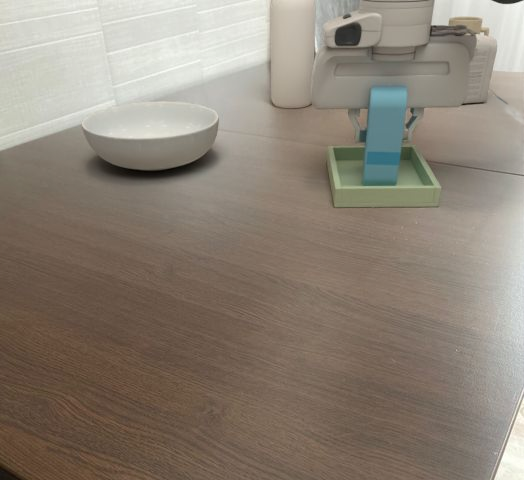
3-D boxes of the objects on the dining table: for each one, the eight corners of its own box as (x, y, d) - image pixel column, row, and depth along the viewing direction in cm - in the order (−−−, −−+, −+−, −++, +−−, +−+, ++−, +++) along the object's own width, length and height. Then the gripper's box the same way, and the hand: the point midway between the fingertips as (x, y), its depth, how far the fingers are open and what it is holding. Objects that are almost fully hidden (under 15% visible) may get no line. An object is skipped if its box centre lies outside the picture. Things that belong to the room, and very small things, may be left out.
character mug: (433, 86, 126) (443, 20, 118) (428, 79, 132) (438, 16, 124) (482, 86, 125) (495, 20, 117) (475, 79, 131) (488, 16, 123)
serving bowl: (145, 196, 77) (138, 146, 73) (65, 165, 89) (54, 120, 85) (248, 158, 89) (246, 113, 85) (165, 135, 101) (160, 94, 97)
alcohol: (314, 99, 120) (320, -76, 101) (310, 109, 113) (315, -77, 94) (274, 98, 121) (273, -75, 103) (268, 108, 114) (265, -75, 96)
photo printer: (478, 98, 117) (491, 31, 109) (489, 103, 114) (503, 34, 106) (433, 101, 115) (443, 34, 108) (442, 106, 112) (454, 37, 105)
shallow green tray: (413, 161, 86) (416, 144, 85) (438, 206, 72) (441, 187, 71) (326, 162, 87) (327, 145, 85) (334, 207, 73) (335, 188, 71)
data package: (396, 190, 74) (408, 94, 67) (361, 189, 75) (370, 93, 67) (393, 161, 83) (404, 73, 76) (363, 160, 84) (371, 73, 77)
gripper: (473, 21, 70) (452, 133, 78) (311, 24, 71) (308, 135, 79) (487, 28, 65) (464, 147, 73) (312, 31, 66) (309, 149, 74)
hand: (381, 141), depth 76 cm, fingers closed on data package, 5 cm apart
